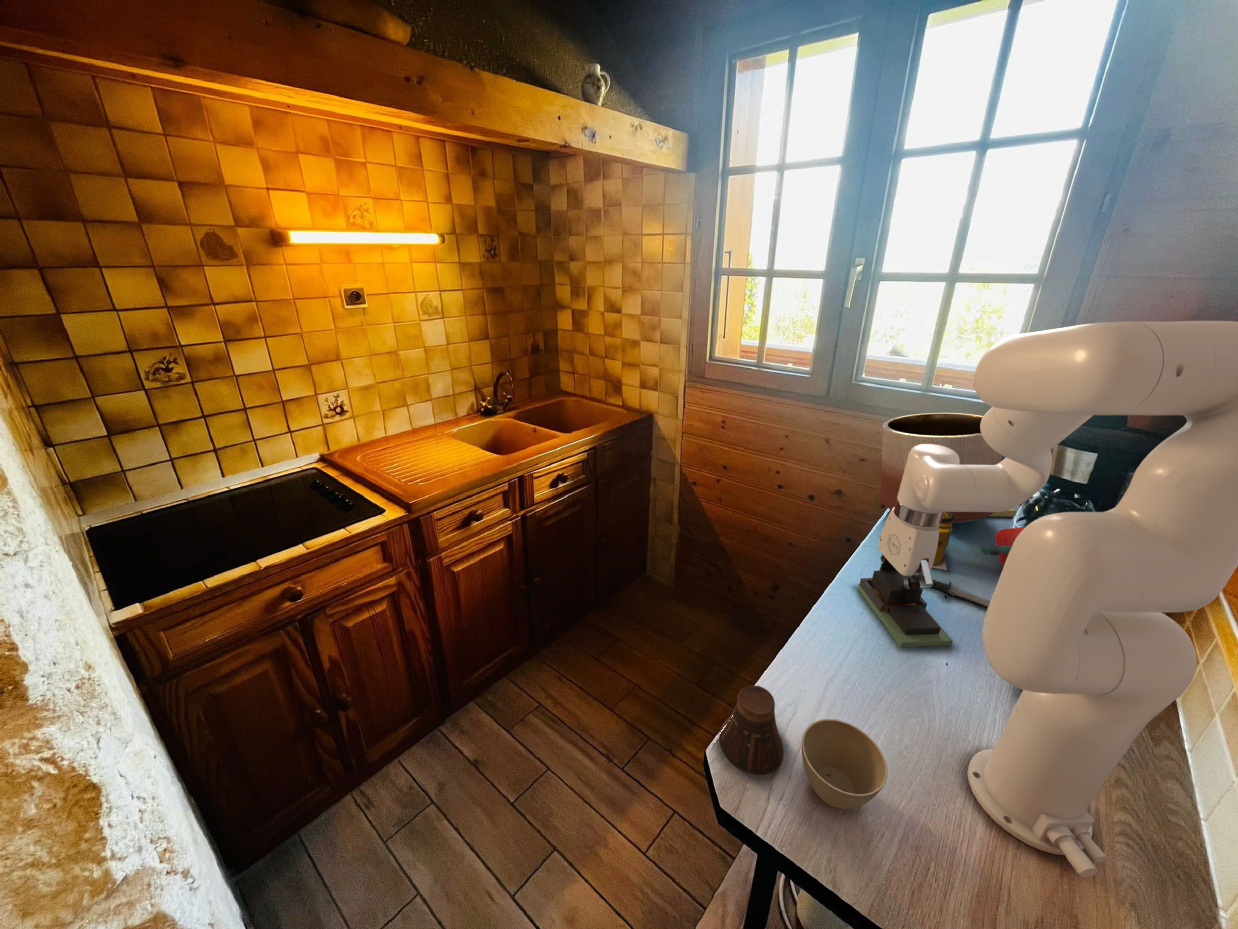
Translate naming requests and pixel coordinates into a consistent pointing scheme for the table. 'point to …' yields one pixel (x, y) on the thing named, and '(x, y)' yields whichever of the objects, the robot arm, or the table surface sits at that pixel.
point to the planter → (937, 430)
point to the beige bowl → (842, 763)
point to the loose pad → (890, 585)
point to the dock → (908, 639)
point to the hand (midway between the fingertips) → (895, 590)
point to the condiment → (943, 540)
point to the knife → (957, 592)
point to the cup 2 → (753, 732)
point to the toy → (1003, 543)
